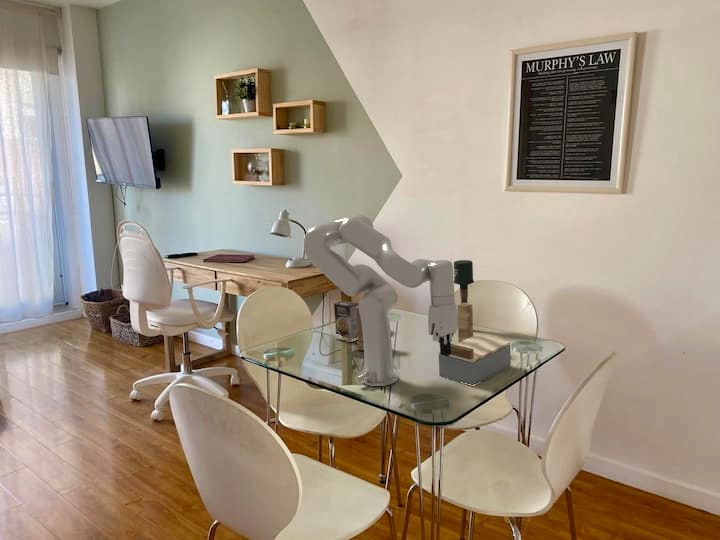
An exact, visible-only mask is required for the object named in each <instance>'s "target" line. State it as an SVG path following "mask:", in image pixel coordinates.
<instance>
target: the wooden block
mask: <svg viewBox="0 0 720 540" xmlns="http://www.w3.org/2000/svg"><path fill="white" fill-rule="evenodd" d="M356 321H357V335H358V341H356V342H357V343H356V345H357V347H356V348H357V351H358V350H364V343H363V330H362V322H361V317H360V313H359V306H356Z"/></svg>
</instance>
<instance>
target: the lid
mask: <svg viewBox="0 0 720 540" xmlns="http://www.w3.org/2000/svg"><path fill="white" fill-rule="evenodd" d="M508 345H510V346H511V342H510V341H506V340H503V339H498V338H493V337H489V336H486V335H485V336H484V335H480V334H475V335H473V336H472V337H470V338H468V339H466V340H463V341H461V342H459V341H458V342H457V343H451V355H449V356H450V357H454V358H457V359H461V360H465V361H468V362H472V363H473V362H475V361H477V360H479V359H481V358H483V357H485V356H487V355H489V354H491V353H493V352H496V351H498V350H500V349H502V348H504V347H506V346H508ZM439 354H440V350H438V355H439Z"/></svg>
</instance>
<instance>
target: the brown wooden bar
mask: <svg viewBox="0 0 720 540" xmlns="http://www.w3.org/2000/svg"><path fill="white" fill-rule="evenodd" d="M456 307H457V315H458V329H457V333H458V335H457V336H458V343H459V342H461V341H463V340H466V339H468V338H470V337H472V336H474V316H473V315H474V313H473V311H474V310H473V303H468V302H467V303H461V302H460V303H458V304H456Z"/></svg>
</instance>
